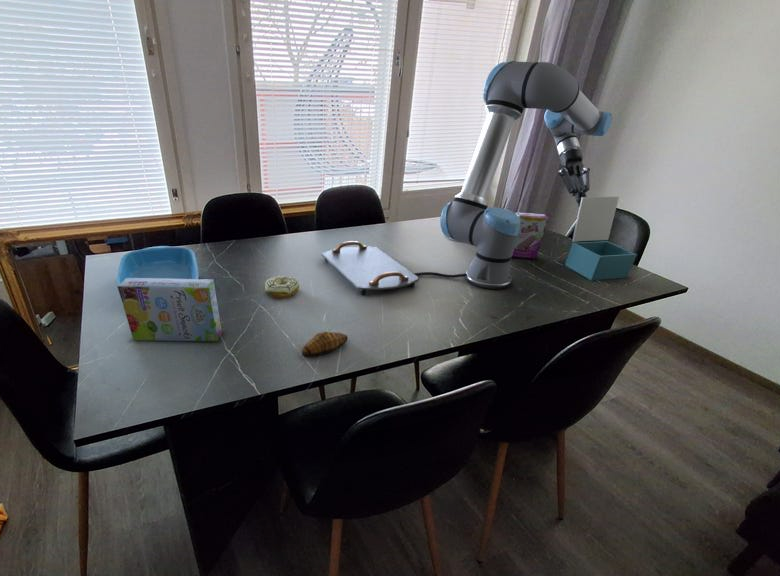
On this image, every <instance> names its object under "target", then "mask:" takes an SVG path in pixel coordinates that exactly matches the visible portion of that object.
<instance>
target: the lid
mask: <svg viewBox="0 0 780 576" xmlns="http://www.w3.org/2000/svg"><path fill="white" fill-rule="evenodd" d="M619 198H620V196H586V197H582V198H581V202H580V207H579V206H578V211H577V217H576V221H575V226H574V231H573V235H572V240H571V241H572V243H578V242H598V241H609V239H610V234H611V230H612V226H613V223H614V219H615V214H616V210H617V207H618V202H619Z"/></svg>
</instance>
